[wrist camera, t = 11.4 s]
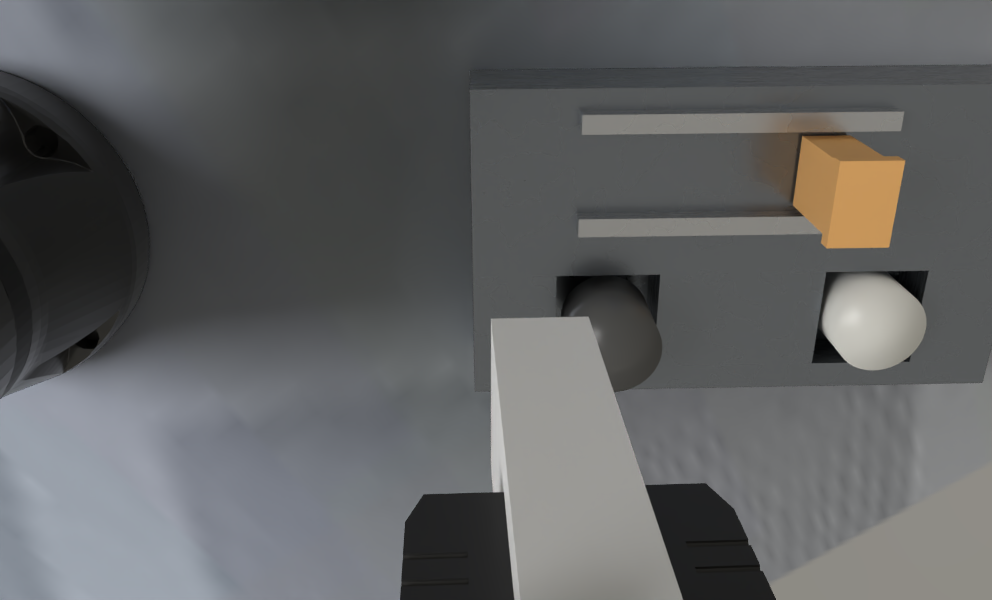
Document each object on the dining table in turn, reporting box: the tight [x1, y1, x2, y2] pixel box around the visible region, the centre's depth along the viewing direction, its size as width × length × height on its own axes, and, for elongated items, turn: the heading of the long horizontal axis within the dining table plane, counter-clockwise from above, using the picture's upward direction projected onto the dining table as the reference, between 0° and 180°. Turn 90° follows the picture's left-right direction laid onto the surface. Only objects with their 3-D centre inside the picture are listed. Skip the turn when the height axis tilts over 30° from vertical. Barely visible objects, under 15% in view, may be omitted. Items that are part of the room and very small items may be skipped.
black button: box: [561, 275, 662, 392], centre depth 39 cm, size 4×4×4 cm
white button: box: [818, 271, 926, 370], centre depth 41 cm, size 4×4×4 cm
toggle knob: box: [793, 135, 905, 248], centre depth 35 cm, size 2×3×5 cm
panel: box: [469, 65, 992, 392], centre depth 41 cm, size 24×14×5 cm, turn 90°
